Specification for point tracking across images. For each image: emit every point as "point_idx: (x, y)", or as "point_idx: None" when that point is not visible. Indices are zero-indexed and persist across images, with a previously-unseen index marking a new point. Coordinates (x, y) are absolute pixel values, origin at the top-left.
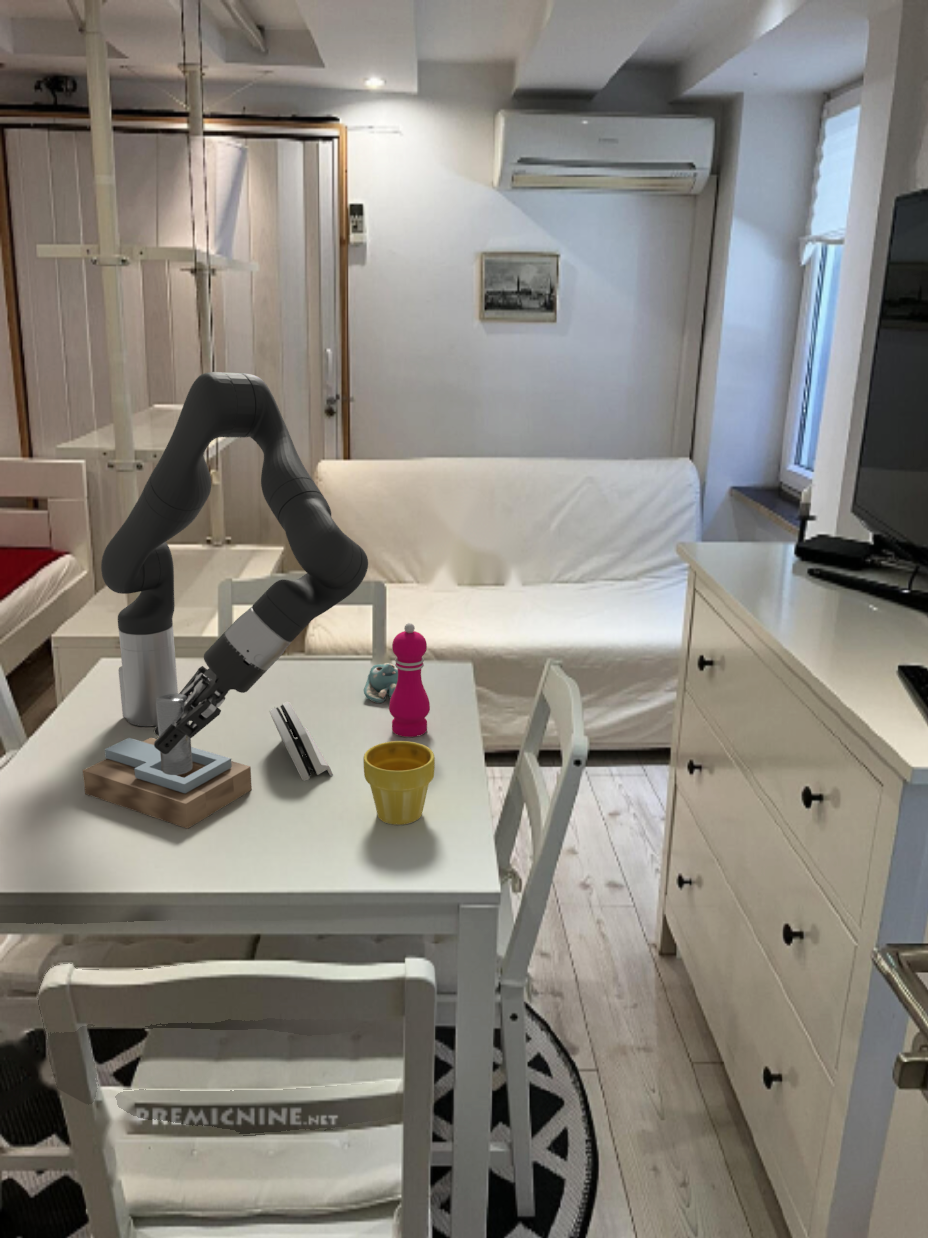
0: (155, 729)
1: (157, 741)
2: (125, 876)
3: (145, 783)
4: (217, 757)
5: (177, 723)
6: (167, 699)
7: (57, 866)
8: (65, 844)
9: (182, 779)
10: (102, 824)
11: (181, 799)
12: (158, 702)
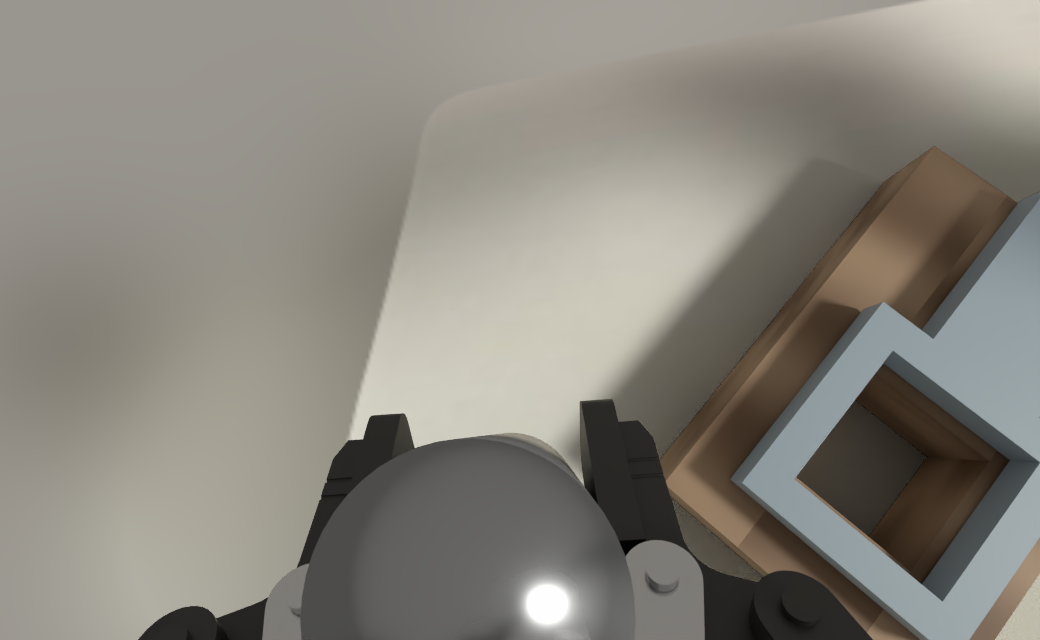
0: (582, 407)
1: (364, 436)
2: (431, 333)
3: (823, 344)
4: (965, 604)
5: (161, 637)
6: (471, 560)
7: (509, 175)
8: (611, 176)
9: (781, 473)
10: (703, 248)
11: (696, 468)
12: (405, 468)
